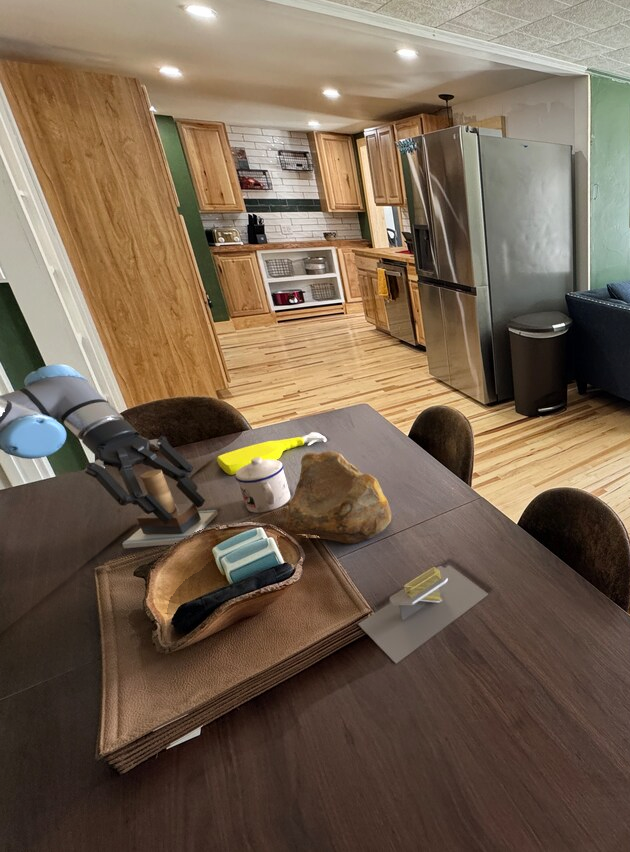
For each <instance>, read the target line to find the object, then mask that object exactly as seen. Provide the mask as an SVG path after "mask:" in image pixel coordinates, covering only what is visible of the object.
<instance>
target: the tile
mask: <svg viewBox="0 0 630 852" xmlns="http://www.w3.org/2000/svg"><path fill="white" fill-rule="evenodd" d="M198 512H199V515H200V518H201V520H200V521H198V522H197V523H196V524H195V525H193V526H192V527H191V528H190V529H188V530H187V531H186V532H185V533H183V534H143V531H142V529H141V527H140V528H139V529H137V530H136V531H135V532H134V533H133V534H132V535H130V536H129V537H128V538H127V539H126V540H124V541H123V542H122V544H121V545H122V547H123V549H134V548H146V547H156V546H157V547H158V546H168V545H170V546H171V545H176V544H175V543H177V542H178V541H180V540H182V539H184V538H186V537H188V536H189V535H191V534H192V533H194V532H197V531H199V530H202V529H203V530H204V529H205V528H206V527H207V526H208V525H209V524H210V523H211V522H212V521H213V520H214V519H215V518H216V517H217V516H218V515H219V513H218V510H217V509H209V510H198ZM203 530H202V531H203Z"/></svg>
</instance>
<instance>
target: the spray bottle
mask: <svg viewBox="0 0 630 852" xmlns="http://www.w3.org/2000/svg"><path fill="white" fill-rule="evenodd" d="M327 441H328V438H326V436H324V435H322V434H321V433H319V432H315V431H310V433H308V434H305V435H302V436H297V437H291V438H285V439H284V438H283V439H278V440H268V441H264V442H260V443H255V444H252V445H249V446H245V447H241V448H238V449H234V450H232V451H229V452H225V453H223V454H220V455H218V456H217V458H216V462H217V464H218V465H217V466H219V467H220V469H222V470H223V471H224V472H225V473H226V474H227V475H229V476H236V473H237V471H238V470H239V469H240V468H242V467H243V466H245V465H247V464H250V463H251V460H252V459H254V458H257V457H259V458H261V459H262V460H266V459H274V460H279V459H280V458H281V456H282V454H283V453H284V452H285V451H289V450H290V449H293V448H297V447H301V446H304V445H306V444H307V446H311V445H312V444H314V443H321V442H324V443H326V442H327Z"/></svg>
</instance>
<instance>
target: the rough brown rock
mask: <svg viewBox="0 0 630 852" xmlns="http://www.w3.org/2000/svg"><path fill="white" fill-rule="evenodd" d="M300 460H301V462H300V466H301V467H300V474H299V479H298V481H297V484H296V486H295V491H294V494H293V496H292V498H291V501H290V502H289V506H288V509H287V512H286V514H285V517H284V521H283V529H284V530H287V531H288V532H289V533H292V534H293V535H295V536H296V537H298V538H302V539H307V538H306V536H302V535H296V534H310V535H317V536H319V537H320V538H319V539H321V540H322V539H323V540H330V541H334V542H338V543H339V542H340V543H344V544H349V545H352V544H355V545H356V544H360V543H361V542H362V541H364V540H367V539H371V538H373V537H375V536H377V535H378V534H380V533H381V532H383V531H384V530H385V529H386V528H387V527H388V526H389V524H390V523H391V521H392V510H391V508H390V504H389V501H388V499H387V497H386V495H385V494H384V493H383V489H382V488H381V485H380V484H379V481H378V479H377V478H375V477H374V476H373V475H371V474H370V473H362V472H360V470H358V468H357V467H356V466H355V465H354V464H352V463H350V462H348V460H347V459H346V458H345V457H344V456H343V454H341V453H339V452H337V451H334V450H332V451H331V450H329V451H324V452H321V453H317V452H307V453H305V454H304V455H303V456H302V457H301V459H300Z"/></svg>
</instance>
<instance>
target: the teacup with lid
mask: <svg viewBox="0 0 630 852" xmlns="http://www.w3.org/2000/svg"><path fill="white" fill-rule="evenodd" d="M234 476H235V480H236V481H237V482H238V485H239V489H240V492H241V495H242V498H243V501H244V504H245V507H246V509H247V510H248V512H250V513H256V514H259V513H266V512H272V511H274V510H276V509H279V508H281V507H283V506H284V505H286V504H287V503H288V502H289V501H290V499H291V492H290V488H289V485H288V481H287V478H286V475H285V471H284V464H283V462H281V461H280V460H279V459H277V460H274V459H266V460H262V459H261V458H259V457H257V458H254V459H252V460H251V463H250V464H247V465H245V466H243V467H242V468H240V469H239V470H238V471H237V473H236V474H235V475H234Z"/></svg>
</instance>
